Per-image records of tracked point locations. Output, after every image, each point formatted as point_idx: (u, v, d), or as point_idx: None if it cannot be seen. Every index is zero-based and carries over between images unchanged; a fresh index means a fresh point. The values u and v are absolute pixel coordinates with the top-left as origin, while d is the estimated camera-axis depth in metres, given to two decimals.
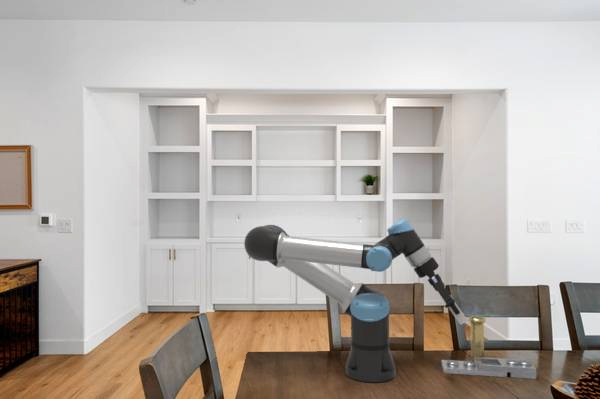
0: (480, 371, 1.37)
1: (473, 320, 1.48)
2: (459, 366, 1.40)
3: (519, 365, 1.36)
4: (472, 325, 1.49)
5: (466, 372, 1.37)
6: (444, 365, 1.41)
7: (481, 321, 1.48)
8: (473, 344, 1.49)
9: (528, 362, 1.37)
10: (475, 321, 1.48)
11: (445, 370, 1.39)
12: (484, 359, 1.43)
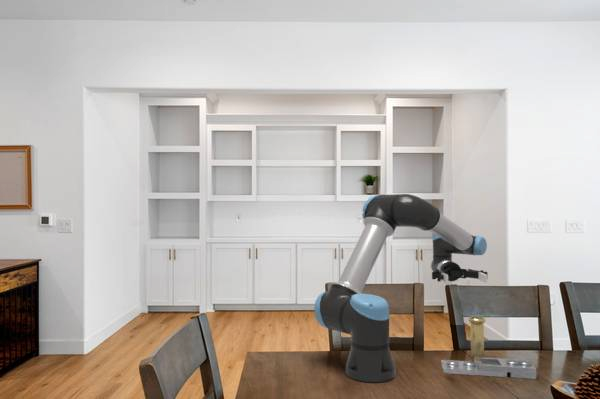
0: (480, 371, 1.37)
1: (473, 320, 1.48)
2: (459, 366, 1.40)
3: (519, 365, 1.36)
4: (472, 325, 1.49)
5: (466, 372, 1.37)
6: (444, 365, 1.41)
7: (481, 321, 1.48)
8: (473, 344, 1.49)
9: (528, 362, 1.37)
10: (475, 321, 1.48)
11: (445, 370, 1.39)
12: (484, 359, 1.43)
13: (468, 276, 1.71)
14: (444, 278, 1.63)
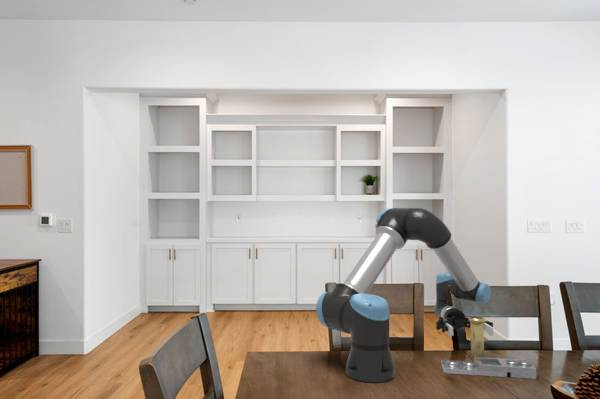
0: (480, 371, 1.37)
1: (473, 320, 1.48)
2: (459, 366, 1.40)
3: (519, 365, 1.36)
4: (472, 325, 1.49)
5: (466, 372, 1.37)
6: (444, 365, 1.41)
7: (481, 321, 1.48)
8: (473, 344, 1.49)
9: (528, 362, 1.37)
10: (475, 321, 1.48)
11: (445, 370, 1.39)
12: (484, 359, 1.43)
13: None
14: (449, 330, 1.59)
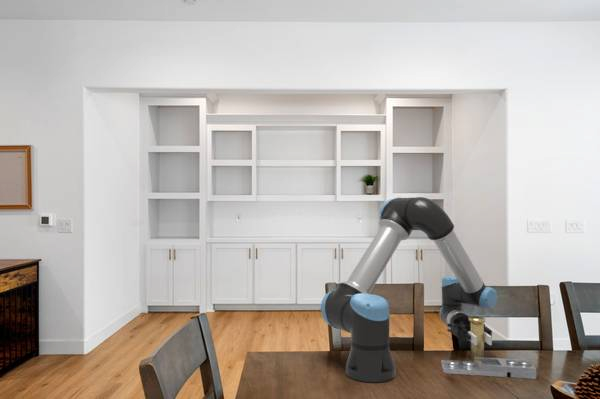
0: (480, 371, 1.37)
1: (473, 320, 1.48)
2: (459, 366, 1.40)
3: (519, 365, 1.36)
4: (472, 325, 1.49)
5: (466, 372, 1.37)
6: (444, 365, 1.41)
7: (481, 321, 1.48)
8: (473, 344, 1.49)
9: (528, 362, 1.37)
10: (475, 321, 1.48)
11: (445, 370, 1.39)
12: (484, 359, 1.43)
13: None
14: (472, 339, 1.47)
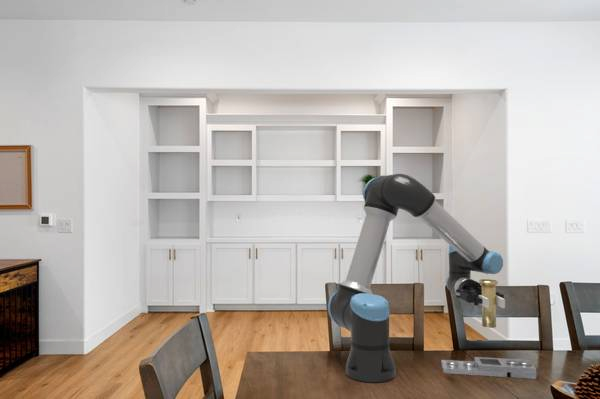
0: (480, 371, 1.37)
1: (485, 282, 1.39)
2: (459, 366, 1.40)
3: (519, 365, 1.36)
4: (483, 288, 1.40)
5: (466, 372, 1.37)
6: (444, 365, 1.41)
7: (493, 283, 1.38)
8: (484, 308, 1.40)
9: (528, 362, 1.37)
10: (487, 283, 1.39)
11: (445, 370, 1.39)
12: (484, 359, 1.43)
13: None
14: (483, 302, 1.37)
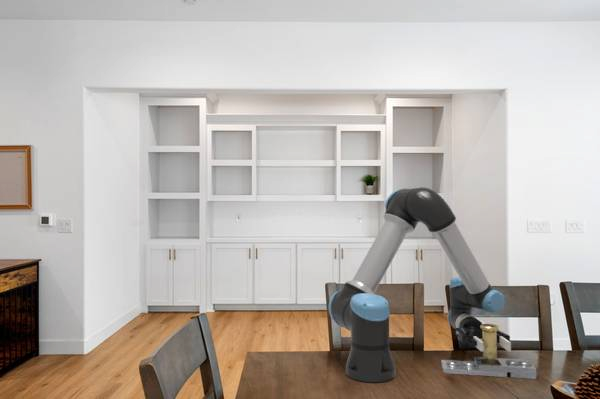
0: (480, 371, 1.37)
1: (485, 328, 1.38)
2: (459, 366, 1.40)
3: (519, 365, 1.36)
4: (484, 333, 1.39)
5: (466, 372, 1.37)
6: (444, 365, 1.41)
7: (494, 329, 1.38)
8: (485, 353, 1.39)
9: (528, 362, 1.37)
10: (488, 329, 1.38)
11: (445, 370, 1.39)
12: None
13: None
14: (478, 345, 1.37)
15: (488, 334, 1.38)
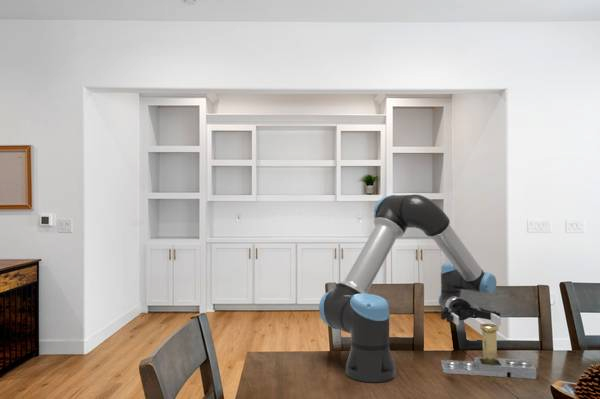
0: (480, 371, 1.37)
1: (485, 328, 1.38)
2: (459, 366, 1.40)
3: (519, 365, 1.36)
4: (484, 333, 1.39)
5: (466, 372, 1.37)
6: (444, 365, 1.41)
7: (494, 329, 1.38)
8: (485, 353, 1.39)
9: (528, 362, 1.37)
10: (487, 329, 1.38)
11: (445, 370, 1.39)
12: None
13: (479, 316, 1.60)
14: (454, 319, 1.52)
15: (488, 334, 1.38)
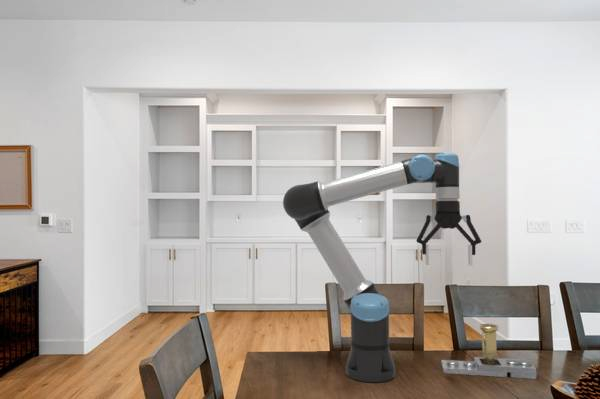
0: (480, 371, 1.37)
1: (485, 328, 1.38)
2: (459, 366, 1.40)
3: (519, 365, 1.36)
4: (484, 333, 1.39)
5: (466, 372, 1.37)
6: (444, 365, 1.41)
7: (494, 329, 1.38)
8: (485, 353, 1.39)
9: (528, 362, 1.37)
10: (487, 329, 1.38)
11: (445, 370, 1.39)
12: None
13: None
14: None
15: (488, 334, 1.38)
